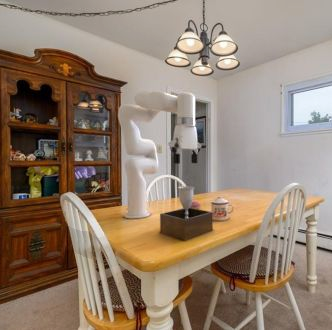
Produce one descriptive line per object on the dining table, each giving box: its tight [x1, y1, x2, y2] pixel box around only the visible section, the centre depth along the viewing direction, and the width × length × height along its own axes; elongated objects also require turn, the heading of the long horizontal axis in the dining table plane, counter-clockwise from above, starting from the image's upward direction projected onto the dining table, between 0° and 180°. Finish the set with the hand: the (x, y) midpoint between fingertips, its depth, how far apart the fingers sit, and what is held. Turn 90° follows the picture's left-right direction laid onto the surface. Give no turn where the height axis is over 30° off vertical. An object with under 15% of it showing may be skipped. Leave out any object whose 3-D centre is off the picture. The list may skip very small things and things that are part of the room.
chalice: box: [177, 185, 195, 219], centre depth 95 cm, size 7×7×18 cm
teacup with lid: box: [210, 195, 235, 222], centre depth 116 cm, size 12×9×12 cm
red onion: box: [190, 201, 202, 210], centre depth 123 cm, size 9×8×12 cm
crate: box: [159, 207, 214, 242], centre depth 95 cm, size 16×16×8 cm
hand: (185, 163), depth 96 cm, fingers open, 9 cm apart
